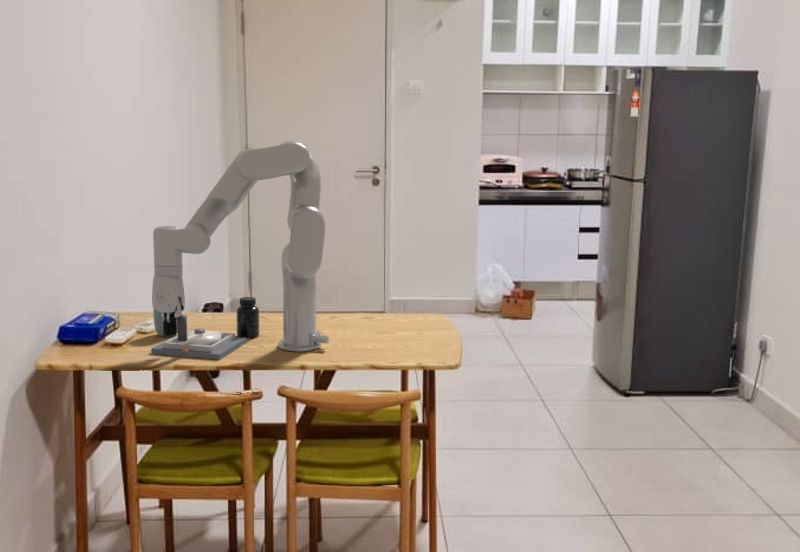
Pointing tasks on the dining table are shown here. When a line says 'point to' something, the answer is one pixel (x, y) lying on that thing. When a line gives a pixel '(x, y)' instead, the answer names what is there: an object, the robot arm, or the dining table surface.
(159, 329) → the cup
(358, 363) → the dining table surface
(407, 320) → the dining table surface
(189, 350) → the board
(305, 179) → the robot arm
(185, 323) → the dial
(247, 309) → the supplement bottle
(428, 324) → the dining table surface
